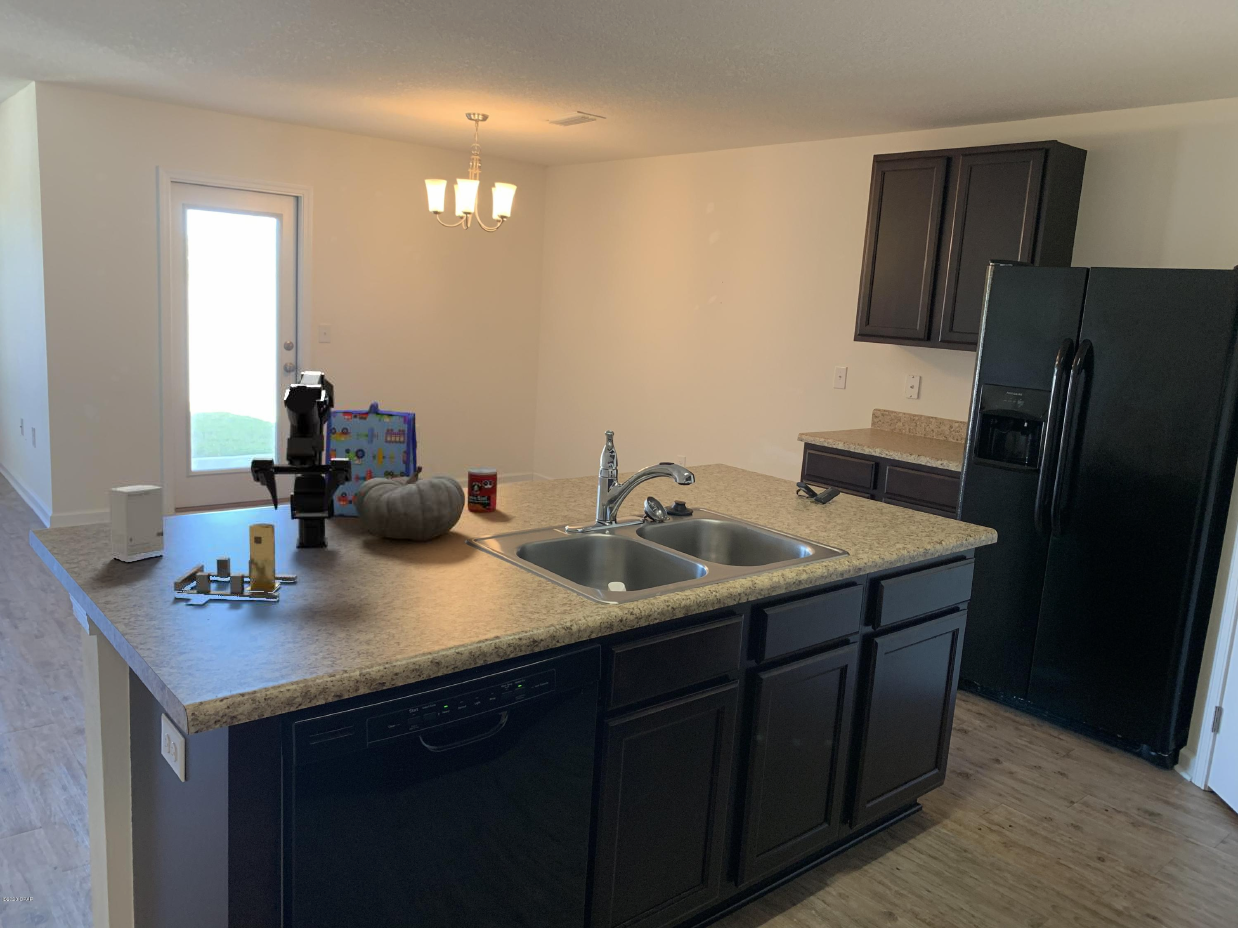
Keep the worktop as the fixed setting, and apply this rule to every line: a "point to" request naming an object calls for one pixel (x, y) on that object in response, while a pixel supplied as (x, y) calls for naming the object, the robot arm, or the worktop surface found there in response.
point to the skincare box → (136, 519)
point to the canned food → (482, 489)
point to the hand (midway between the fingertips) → (300, 508)
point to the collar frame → (223, 572)
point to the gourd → (410, 506)
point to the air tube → (262, 558)
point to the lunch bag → (370, 449)
